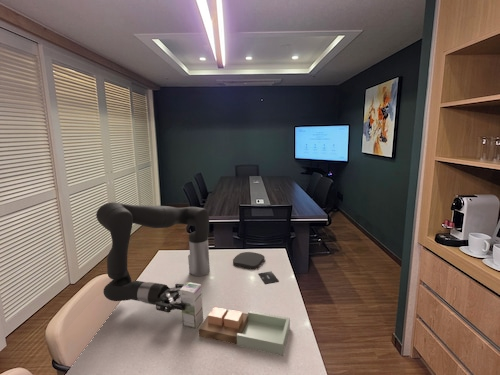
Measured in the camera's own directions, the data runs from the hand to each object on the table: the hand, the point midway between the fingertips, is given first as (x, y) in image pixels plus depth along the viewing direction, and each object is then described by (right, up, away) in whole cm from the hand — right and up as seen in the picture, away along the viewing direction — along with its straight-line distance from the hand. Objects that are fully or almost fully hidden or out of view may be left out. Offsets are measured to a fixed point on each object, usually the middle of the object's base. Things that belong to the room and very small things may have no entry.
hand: (191, 300), depth 102 cm
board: (+12, -9, -2) cm, 15 cm away
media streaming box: (+21, 0, +49) cm, 53 cm away
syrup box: (0, -9, +2) cm, 9 cm away
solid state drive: (+30, -3, +32) cm, 44 cm away
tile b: (+15, -7, -4) cm, 17 cm away
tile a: (+10, -6, -2) cm, 12 cm away
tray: (+26, -10, -6) cm, 28 cm away
